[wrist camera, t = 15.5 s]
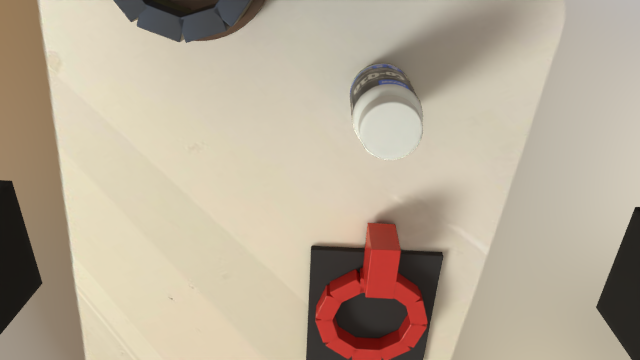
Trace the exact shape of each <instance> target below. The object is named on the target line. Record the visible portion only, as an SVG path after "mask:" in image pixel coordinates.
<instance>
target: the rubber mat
mask: <svg viewBox="0 0 640 360" xmlns="http://www.w3.org/2000/svg"><path fill="white" fill-rule="evenodd" d="M364 253H365V249H362V248H341V247H320V246H311V264H310V287H309V310H308V333H307V356H306V360H352V356H351V357H350V358H349V359H347V358H345V357H343V356H342V355H340V354H339V353H337V352H335V351H334V350H332V349H330V348H329V347H327V346H326V342H325V343H323V341H322V338H321V335H320V332H319V330H318V327H317V324H316V306H317V304H318V302H319V299H320V297H321V295H322V293H323V291H324V289H325V287H326V285H330V282H331V281H333V280H335V279H337V278H339V277H341V276H343V275H345V274H347V273H349V272H351V271H353V270H355V269H356V270H357V271H358V272H359V274H360V268H363V262H364ZM442 260H443V254H442V252H424V251H403V250H401V253H400V260H399V266H398V273H399V274H401V275H402V276H404V277H405V278H406V279H408V280H409V281H411V282H412V283H414V284H415V285H416V286H418V289H419V290H420V291H421V295H422V299H423V303H424V308H425V312H426V317H427V321H428V324H427V328H426V330H425V331H424V333H423V334H422V336H421V337H420V339H419V340H418V342H417V343H416V345H415V347H410V349H411V350H410V351H407V352H405V353H403V354H400V355H398V356H396V357H394V358H391V359H389V360H423V357H424V352H425V347H426V342H427V337H428V332H429V326H430V321H431V316H432V311H433V306H434V301H435V296H436V291H437V286H438V281H439V275H440V270H441V265H442ZM407 315H408V312H407V308H406V306H405V305H404V304H402V303H401V302H399V301H398V300H396V299H395V298H393V299H388V298H369V297H365V293H360V294H358V295H356V296H354V297H352V298H350V299H348V300H346V301H344V302H342V303H341V305H340V307H339V309H338V310H337V312H336V314H335V318H336V321H337V324H338V326H339V327H340V328H342V329H343V330H345V331H347V332H348V333H350V334H351V335H353V336H355V337H360V338H380V337H383V336H385V335H387V334H389V333H392V332H394V331H396V330H398V329H399V328H400V326H401V324H402V323H403V321H404V319H405V318H406V316H407ZM381 360H384V359H383V358H382V359H381Z"/></svg>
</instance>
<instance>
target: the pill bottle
mask: <svg viewBox="0 0 640 360" xmlns="http://www.w3.org/2000/svg"><path fill="white" fill-rule="evenodd" d="M350 103H351V114H352V124H353V128H354V131H355V133H356V135H357V136H358V138H359V139H360V140H361V143H362V145H363V146H364V148H365V149H366V150H367V151H368V152H369V153H370V154H371V155H373V156H375V157H377V158H379V159H383V160H396V159H400V158H403V157H405V156H407V155H408V154H410V153H411V152H412V151H413V150H414V149H415V148H416V147H417V146H418V144H419V142H420V140H421V138H422V134H423V124H422V121H423V111H422V106H421V103H420V101H419V99H418V97H417V96H416V93H415V92H414V89H413V87H412V85H411V84H410V81H409V80H408V78H407V76H406V75H405V74H404V73H403V72H402V71H401V70H400V69H399V68H397V67H395V66H393V65H390V64H383V63H381V64H374V65H371V66H368V67H366V68H365V69H363V70H362V71H360V72H359V73H358V75H357V76H356V77H355V79H354V81H353V83H352V85H351V89H350Z"/></svg>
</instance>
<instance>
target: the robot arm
mask: <svg viewBox="0 0 640 360" xmlns="http://www.w3.org/2000/svg"><path fill="white" fill-rule="evenodd" d="M41 284H42V281H41V277H40V274H39V270H38V267H37V264H36V261H35V257H34V253H33V250H32V247H31V243H30V240H29V237H28V234H27V230H26V227H25V224H24V220H23V217H22V213H21V210H20V207H19V203H18V200H17V197H16V194H15V190H14V187H13V183H12V181H2V180H0V334H1V333H2V332H3V330H4V329H5V328H6V327H7V326H8V325H9V323H10V322H11V321H12V320H13V318H14V317H15V316H16V315H17V314H18V312H19V311H20V310H21V309H22V307H23V306H24V305H25V304H26V303H27V301H28V300H29V299H30V298H31V297H32V295H33V294H34V293H35V292H36V290H37V289H38V288H39V287H40V285H41ZM596 308H597V309H598V311H599V312H600V314H601V315H602V317H603V318H604V320H605V321H606V323H607V324H608V325H609V327H610V328H611V330H612V331H613V333H614V334H615V336H616V337H617V338H618V340H619V342H620V343H621V344H622V346H623V347H624V349H625V350H626V352H627V353H628V355H629V356H630V357H631V359H632V360H640V207H635V209H634V212H633V214H632V217H631V220H630V222H629V225H628V227H627V230H626V232H625V235H624V237H623V240H622V243H621V245H620V248H619V250H618V253H617V255H616V258H615V260H614V263H613V266H612V268H611V271H610V273H609V276H608V278H607V281H606V284H605V286H604V289H603V291H602V294H601V296H600V299H599V301H598V304H597V306H596Z"/></svg>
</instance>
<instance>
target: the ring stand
mask: <svg viewBox="0 0 640 360" xmlns="http://www.w3.org/2000/svg"><path fill="white" fill-rule="evenodd" d="M114 2H115V3H116V4H117V5H118V7H119V8H120V9H121V10H122V12H123V13H124V14H125V15H126V17H127V18H128V19H129V20H130V22H133V21H135V20H137V19H138V22H137V27H139V28H142V29H145V30H148V31H150V32H153V33H156V34H158V35H161V36H164V37H167V38H169V39H172V40H175V41H177V42H181V41H182V40H184V39H185V42H186V43H187V42H191V41H207V40H213V39H218V38H221V37H225V36H227V35H229V34H232V33H234V32H236V31H237V30H239V29H240V28H242V27H243V26H245V25H246V24H247V23H248V22H249V21H250V20H251V19H252V18H253V17H254V16H255V15H256V14H257V13H258V12H259V10H260V9H261V8H262V6H263V5H264V3H265V2H266V0H114Z"/></svg>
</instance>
